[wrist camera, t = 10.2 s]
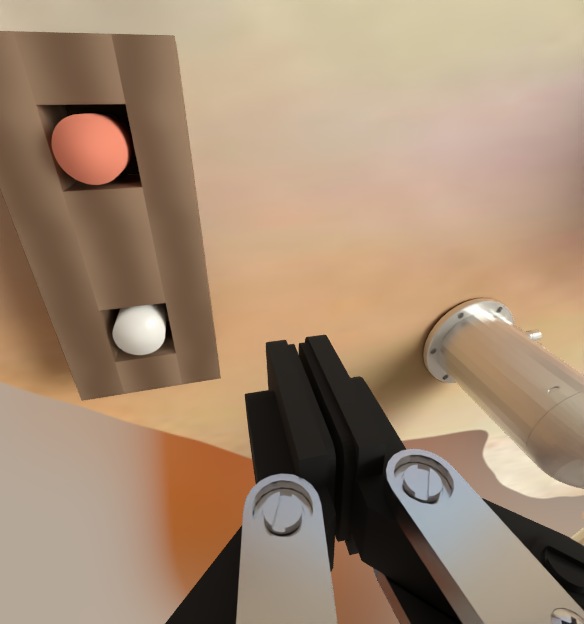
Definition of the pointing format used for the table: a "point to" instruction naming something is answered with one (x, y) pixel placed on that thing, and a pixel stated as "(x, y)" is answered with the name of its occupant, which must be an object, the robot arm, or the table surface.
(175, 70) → the plug block
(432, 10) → the table surface
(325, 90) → the table surface
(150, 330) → the white plug
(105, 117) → the red plug
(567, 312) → the table surface
